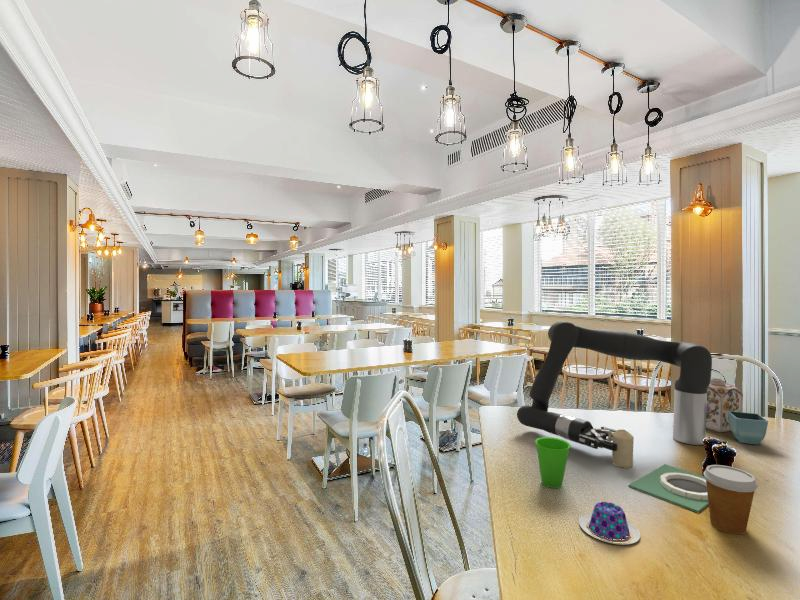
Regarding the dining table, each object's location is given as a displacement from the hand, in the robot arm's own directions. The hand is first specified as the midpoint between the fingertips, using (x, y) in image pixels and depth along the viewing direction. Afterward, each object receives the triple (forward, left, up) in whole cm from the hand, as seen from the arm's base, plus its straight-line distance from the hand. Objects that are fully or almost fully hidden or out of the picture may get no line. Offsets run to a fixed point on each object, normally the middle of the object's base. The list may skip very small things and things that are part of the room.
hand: (623, 444), depth 127 cm
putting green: (+2, +16, -6) cm, 17 cm away
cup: (+28, -5, -6) cm, 29 cm away
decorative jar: (-63, +4, -6) cm, 63 cm away
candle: (0, 0, -6) cm, 6 cm away
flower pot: (-53, +16, -6) cm, 56 cm away
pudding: (+37, +15, -7) cm, 40 cm away
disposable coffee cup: (+14, +30, -6) cm, 33 cm away
